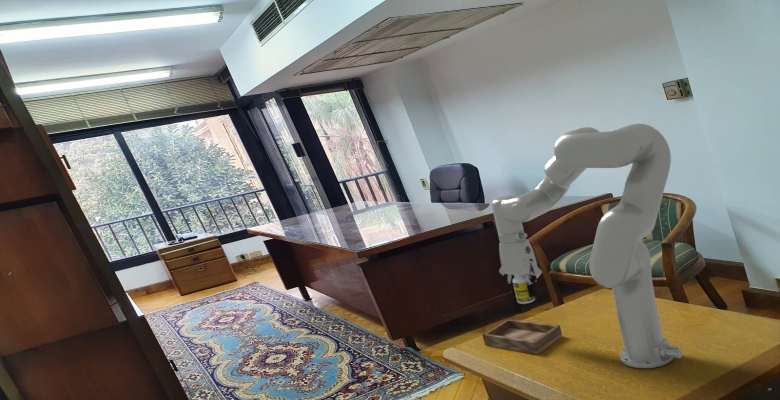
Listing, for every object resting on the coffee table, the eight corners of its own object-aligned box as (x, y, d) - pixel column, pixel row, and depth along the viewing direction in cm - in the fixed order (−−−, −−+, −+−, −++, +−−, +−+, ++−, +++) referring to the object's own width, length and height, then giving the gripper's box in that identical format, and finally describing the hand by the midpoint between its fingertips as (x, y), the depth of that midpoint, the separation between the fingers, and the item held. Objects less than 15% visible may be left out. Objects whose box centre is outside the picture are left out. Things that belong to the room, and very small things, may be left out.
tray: (562, 336, 161) (559, 325, 161) (537, 354, 153) (534, 343, 153) (510, 329, 177) (507, 319, 176) (484, 345, 169) (482, 334, 168)
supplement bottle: (514, 304, 159) (507, 273, 159) (522, 297, 163) (515, 267, 163) (530, 304, 156) (523, 272, 155) (538, 297, 160) (531, 266, 159)
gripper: (543, 233, 153) (556, 292, 155) (497, 234, 167) (510, 289, 169) (528, 240, 149) (541, 302, 150) (482, 241, 162) (495, 297, 164)
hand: (524, 294), depth 159 cm, fingers closed on supplement bottle, 5 cm apart
